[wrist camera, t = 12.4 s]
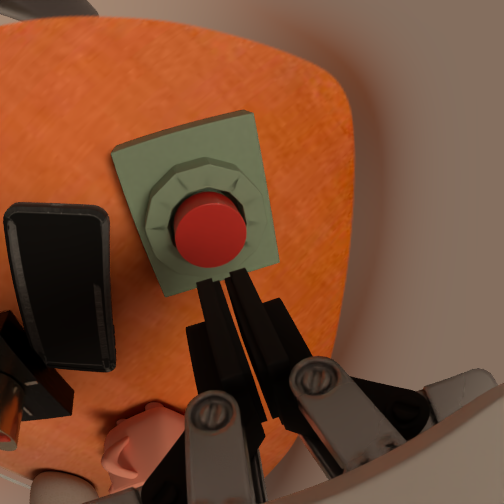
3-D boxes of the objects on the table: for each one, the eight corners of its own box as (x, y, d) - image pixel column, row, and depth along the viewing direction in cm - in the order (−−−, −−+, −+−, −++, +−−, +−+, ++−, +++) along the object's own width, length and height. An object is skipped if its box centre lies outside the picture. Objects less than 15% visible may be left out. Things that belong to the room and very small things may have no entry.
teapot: (196, 450, 36) (211, 516, 28) (106, 447, 32) (111, 517, 24) (219, 389, 30) (244, 476, 22) (100, 382, 26) (99, 477, 18)
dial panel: (-48, 329, 19) (-60, 352, 16) (10, 309, 20) (-2, 335, 17) (14, 401, 25) (9, 423, 22) (74, 391, 26) (72, 417, 23)
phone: (36, 366, 22) (1, 206, 16) (39, 357, 23) (7, 200, 17) (118, 373, 25) (110, 210, 18) (118, 363, 26) (112, 204, 19)
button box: (115, 145, 17) (104, 160, 14) (244, 109, 18) (263, 115, 15) (163, 279, 23) (166, 315, 19) (270, 247, 24) (289, 277, 20)
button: (165, 202, 16) (165, 215, 15) (231, 183, 17) (239, 194, 15) (184, 259, 18) (187, 276, 17) (244, 241, 19) (252, 256, 17)
